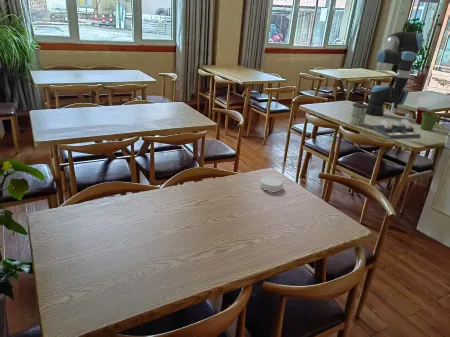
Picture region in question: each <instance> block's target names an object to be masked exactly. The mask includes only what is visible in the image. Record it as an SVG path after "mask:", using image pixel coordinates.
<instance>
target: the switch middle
mask: <svg viewBox="0 0 450 337" xmlns="http://www.w3.org/2000/svg"><path fill="white" fill-rule="evenodd" d="M389 124H390V125H394V126H403V125H404V124H403V123H402V122H394V121H393V122H389Z"/></svg>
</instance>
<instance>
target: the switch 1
mask: <svg viewBox="0 0 450 337" xmlns="http://www.w3.org/2000/svg"><path fill="white" fill-rule="evenodd" d="M379 123H380V125H382V126H384V127H385V128H386V129H390V128H392V126H391V125H390V122H388V121H387V120H385V119H384V120H383V119H382V120H379Z"/></svg>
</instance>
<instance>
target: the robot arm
mask: <svg viewBox="0 0 450 337" xmlns="http://www.w3.org/2000/svg"><path fill="white" fill-rule="evenodd" d="M423 40H424V34H423V33H420V32H419V33H418V32H407V31H397V32H395V33H392V34H389V35H388V36H387V37H386V39H385V40H384V46H383V49H382V50H379V51H378V52H377V55H376V62H377V63H380V64H390V65H397V66H398V68H397V71H396V76H395V78H394V84H393V85H391V86H390V87H389V85H385V84H382V85H381V84H379V85H378V84H377V85H373V87H372V88H371V91H370V95H369V99H368V103H367V104H366V105H367V106H368V107H367V110H366V115H369V116H374V117H384V114H385V110H384V105H385V104H391V105H390V109H389V110H390V111H389V113H391V114H395V113H396V110H397V109H398V106H402V105H404V103H405V102H406V100H407V97H408V95H409V93H410V92H409V90H408V87H407V84H408V82H409V78H410V75H411V71H412V68H413V64H414V60H415V58H416V55H417V54H419V52H421V51H422V48H423V47H422V46H423V42H424V41H423ZM396 49H400V52H395V51H396Z"/></svg>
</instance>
